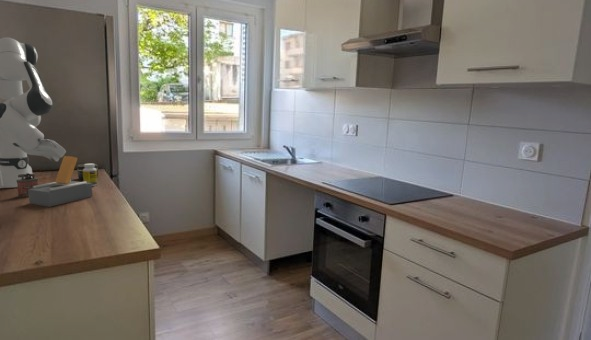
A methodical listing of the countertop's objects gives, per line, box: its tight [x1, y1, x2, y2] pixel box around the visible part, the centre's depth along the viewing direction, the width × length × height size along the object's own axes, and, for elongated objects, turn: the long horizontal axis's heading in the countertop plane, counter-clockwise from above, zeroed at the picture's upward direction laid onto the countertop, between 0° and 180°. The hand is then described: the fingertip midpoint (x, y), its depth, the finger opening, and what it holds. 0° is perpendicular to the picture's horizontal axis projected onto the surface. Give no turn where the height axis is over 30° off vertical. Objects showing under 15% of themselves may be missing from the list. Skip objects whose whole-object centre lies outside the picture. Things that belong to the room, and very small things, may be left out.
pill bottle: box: [82, 162, 98, 187], centre depth 194 cm, size 6×6×11 cm
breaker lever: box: [54, 155, 78, 185], centre depth 167 cm, size 6×2×12 cm, turn 68°
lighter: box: [16, 173, 39, 198], centre depth 172 cm, size 8×3×10 cm, turn 135°
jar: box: [76, 163, 99, 181], centre depth 211 cm, size 10×10×8 cm
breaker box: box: [28, 179, 93, 208], centre depth 165 cm, size 12×20×7 cm, turn 158°
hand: (56, 160), depth 162 cm, fingers closed
